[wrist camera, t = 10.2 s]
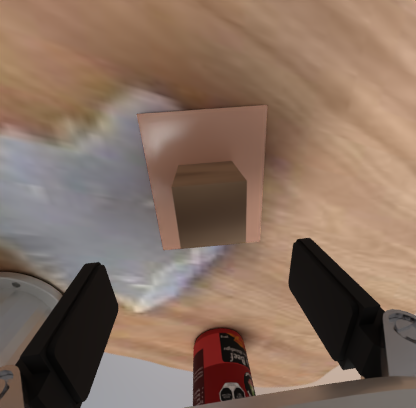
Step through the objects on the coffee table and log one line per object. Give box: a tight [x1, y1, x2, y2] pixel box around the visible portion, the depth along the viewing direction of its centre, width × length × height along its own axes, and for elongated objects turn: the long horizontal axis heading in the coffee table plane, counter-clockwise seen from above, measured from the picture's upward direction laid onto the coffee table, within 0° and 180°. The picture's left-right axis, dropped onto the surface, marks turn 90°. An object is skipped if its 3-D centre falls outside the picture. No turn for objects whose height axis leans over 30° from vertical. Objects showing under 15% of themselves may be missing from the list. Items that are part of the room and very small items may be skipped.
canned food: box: [193, 328, 256, 406], centre depth 27 cm, size 8×8×11 cm
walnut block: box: [172, 161, 247, 249], centre depth 17 cm, size 5×5×6 cm
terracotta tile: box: [137, 105, 268, 250], centre depth 20 cm, size 14×11×1 cm
